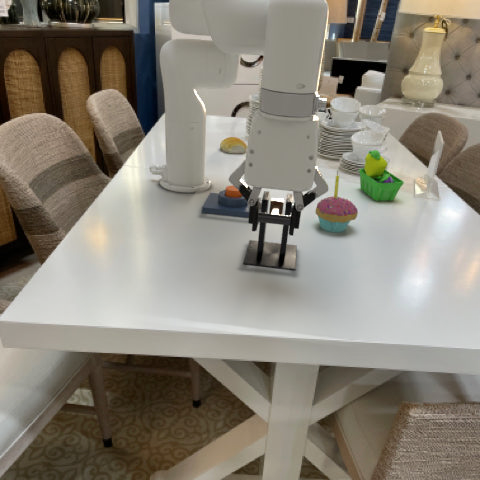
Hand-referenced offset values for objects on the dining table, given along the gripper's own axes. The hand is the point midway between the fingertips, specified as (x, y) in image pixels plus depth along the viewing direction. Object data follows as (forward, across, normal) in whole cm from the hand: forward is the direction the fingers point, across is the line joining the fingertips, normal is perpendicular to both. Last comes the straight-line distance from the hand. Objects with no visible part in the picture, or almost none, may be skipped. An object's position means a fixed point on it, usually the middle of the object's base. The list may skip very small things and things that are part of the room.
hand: (273, 229), depth 74 cm
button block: (+10, +10, -30) cm, 33 cm away
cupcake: (+10, -12, -26) cm, 30 cm away
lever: (0, 0, -4) cm, 4 cm away
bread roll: (+10, +17, -84) cm, 87 cm away
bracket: (+9, 0, -8) cm, 13 cm away
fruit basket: (+10, -24, -54) cm, 59 cm away
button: (+6, +10, -31) cm, 33 cm away
